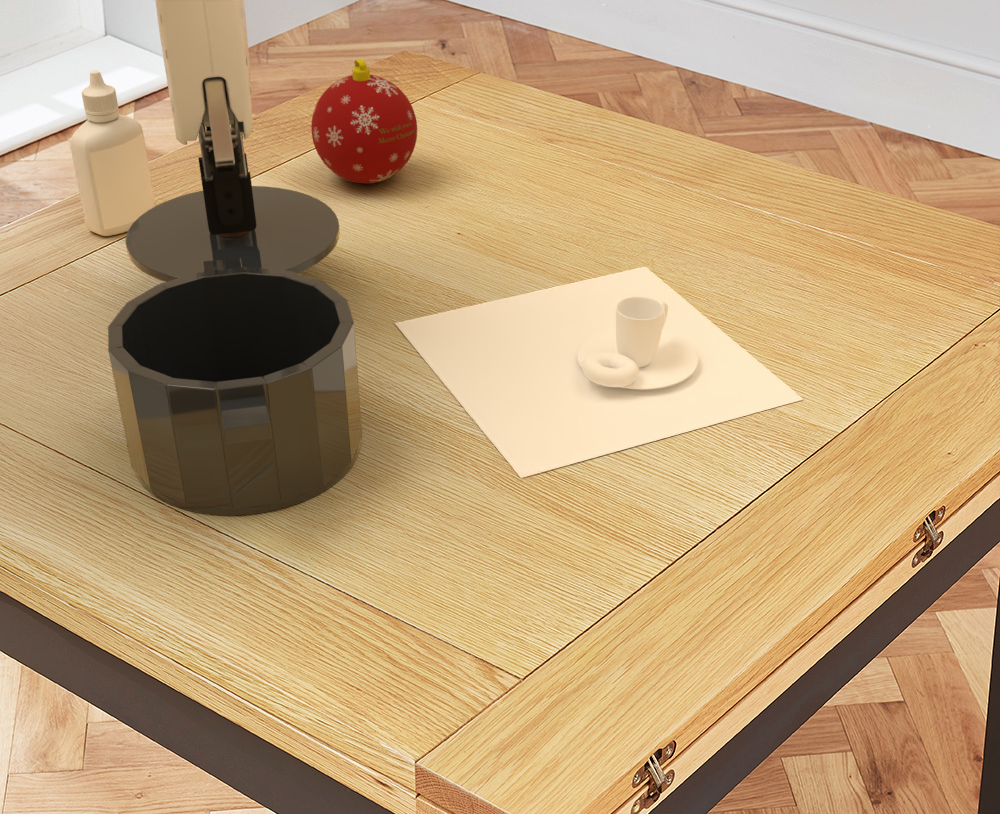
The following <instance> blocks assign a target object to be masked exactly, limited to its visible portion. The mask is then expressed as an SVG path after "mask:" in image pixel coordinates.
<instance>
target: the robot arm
mask: <svg viewBox="0 0 1000 814" xmlns="http://www.w3.org/2000/svg"><path fill="white" fill-rule="evenodd" d="M155 8H156V17H157V23H158V24H157V25H158V31H159V38H160V43H161V50H162V51H161V52H162V59H163V65H164V70H165V76H166V83H167V88H168V89H167V90H168V95H169V96H168V97H169V101H170V108H171V113H172V121H173V127H174V133H175V138H176V140H177V142H179V143H180V144H182V145H183V146H187V145H188V142H195V141H197V140H198V143H199V145H200V153H201V154H200V155H201V156H199V157H198V165H199V173H200V179H201V187H202V191H203V194H204V201H205V208H206V215H207V221H208V228H209V232H210V233H211V234H213V235H217V234H227V233H237V232H246V231H253V230H255V229H256V217H255V209H254V201H253V192H252V186H253V185H252V178H251V171H249V167H248V157H247V153H246V152H245V148H244V147H245V146H244V140H246V139H248V138H249V137H250V136H251V135H252V134H253V132H254V131H253V125H254V124H253V99H252V98H253V97H252V82H251V81H252V80H251V63H250V51H249V50H250V49H249V40H248V30H247V29H248V28H247V20H246V11H245V0H155ZM232 143H235V148H233V144H232ZM208 145H213V150H210V152H209V146H208Z"/></svg>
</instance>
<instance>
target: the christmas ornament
mask: <svg viewBox="0 0 1000 814" xmlns="http://www.w3.org/2000/svg"><path fill="white" fill-rule="evenodd" d="M367 65H368V64H367V63H366V61H365V59H363V58H357V59H355V60H354V67H352V74H351V75H348V76H345V77H342V78H341V79H340V78H339V80H337V81H334V83H332V84H331V85H329V87H327V89H325V90H324V92H322V94H321V96H320V97H319V98H318V100H317V102H316V104H315V107H314V109H313V113H312V117H311V124H310V125H311V126H310V128H311V138H312V142H313V145H314V148H315V151H316V152H317V155H318V156H319V158H320V160H321V162H322V163H323V164H324V165H325V166H326V168H328V169H329V170H330V171H331V172H332V173H333V174H334V175H336V176H338V177H339V178H342V179H344V180H346V181H349V182H352V183H357V184H375V183H379V182H383V181H386V180H388V179H390V178H391V177H393V176H394V175H396V174H397V173H398V172H400V171H401V170H402V169H403V168H404V167H405V165H406V164H407V163H408V162H409V160H410V159H411V157H412V156H413V153H414V151H415V147H416V144H417V139H418V121H417V116H416V113H415V109H414V107H413V105H412V103H411V101H410V100H409V98H408V97H407V95H406V94H405V93H404V92H403V90H401V89H400V88H399V87H398V86H397V85H396V84H394V83H393V82H392V81H390V80H388V79H386V78H384V77H381V76H379V75H374V74H371V72H370V67H368V66H367Z"/></svg>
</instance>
